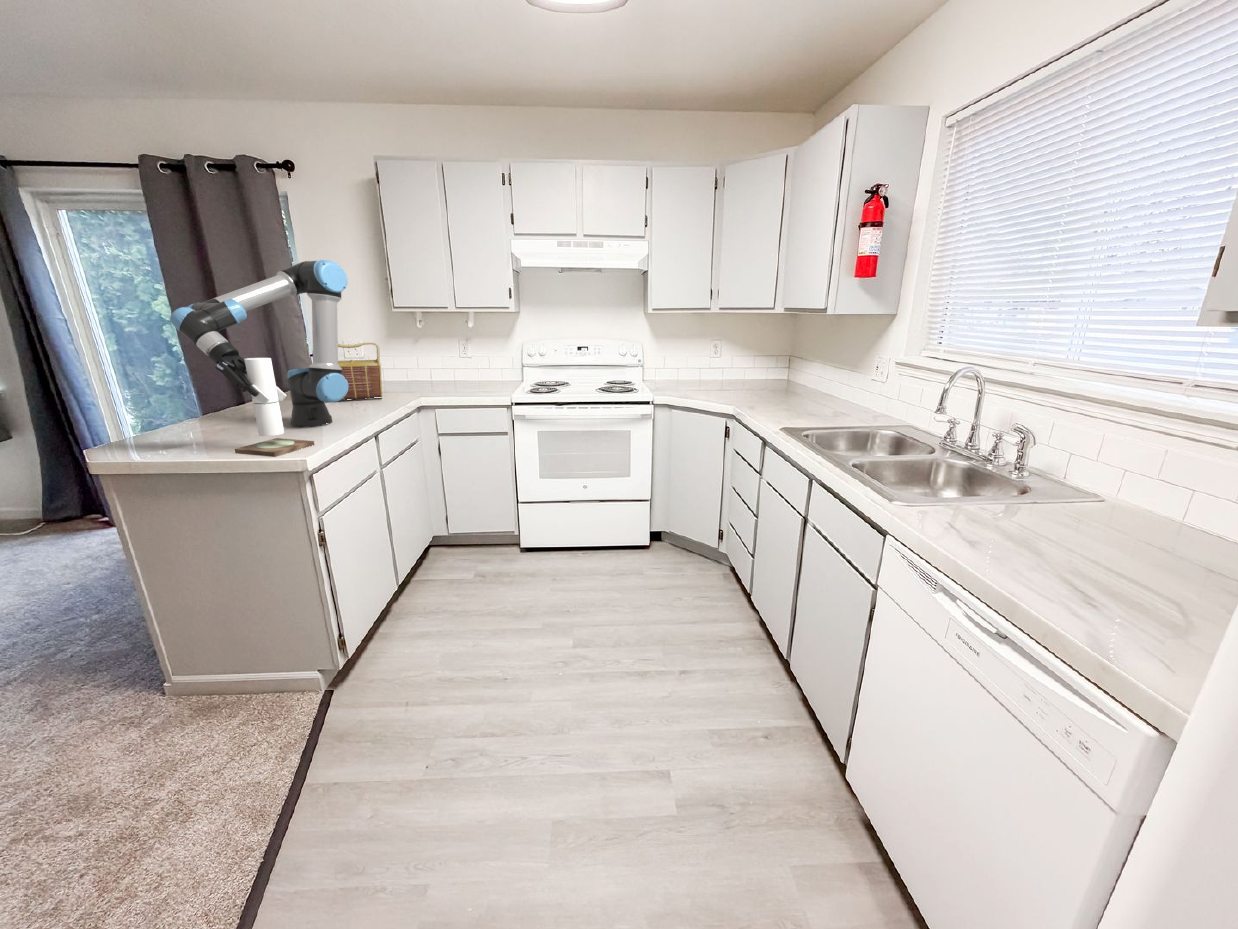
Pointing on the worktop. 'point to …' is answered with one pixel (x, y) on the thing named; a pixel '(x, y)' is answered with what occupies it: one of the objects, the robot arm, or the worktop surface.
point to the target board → (274, 447)
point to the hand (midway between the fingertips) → (275, 400)
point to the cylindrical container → (264, 381)
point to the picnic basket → (362, 376)
